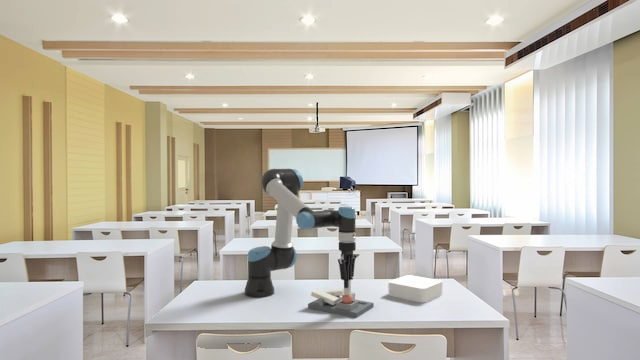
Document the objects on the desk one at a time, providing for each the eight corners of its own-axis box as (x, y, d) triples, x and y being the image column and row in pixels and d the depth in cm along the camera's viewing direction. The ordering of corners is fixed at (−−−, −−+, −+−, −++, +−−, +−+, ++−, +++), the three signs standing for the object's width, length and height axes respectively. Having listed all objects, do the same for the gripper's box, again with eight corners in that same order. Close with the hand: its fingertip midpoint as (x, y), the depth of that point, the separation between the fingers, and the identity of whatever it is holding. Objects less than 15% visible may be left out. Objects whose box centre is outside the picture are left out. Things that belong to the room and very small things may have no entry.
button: (340, 304, 188) (340, 295, 188) (345, 301, 192) (345, 293, 192) (349, 305, 185) (349, 297, 185) (354, 302, 189) (354, 294, 189)
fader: (348, 300, 197) (348, 293, 197) (351, 299, 199) (351, 292, 199) (352, 301, 196) (352, 294, 196) (355, 299, 198) (355, 292, 198)
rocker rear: (320, 297, 202) (320, 292, 202) (326, 294, 207) (325, 290, 207) (342, 295, 196) (341, 291, 196) (347, 292, 200) (346, 288, 201)
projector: (445, 293, 218) (445, 280, 218) (424, 303, 201) (423, 289, 201) (409, 286, 232) (409, 274, 232) (386, 295, 215) (386, 281, 215)
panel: (307, 308, 194) (307, 297, 194) (327, 298, 209) (327, 288, 209) (356, 317, 181) (356, 306, 181) (373, 307, 196) (373, 296, 195)
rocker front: (311, 295, 196) (311, 291, 195) (316, 293, 200) (317, 289, 200) (333, 305, 190) (333, 300, 189) (338, 302, 194) (339, 298, 194)
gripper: (347, 244, 181) (348, 299, 181) (361, 240, 192) (361, 292, 192) (332, 242, 185) (332, 296, 185) (346, 239, 196) (346, 290, 196)
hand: (347, 294), depth 188 cm, fingers closed
